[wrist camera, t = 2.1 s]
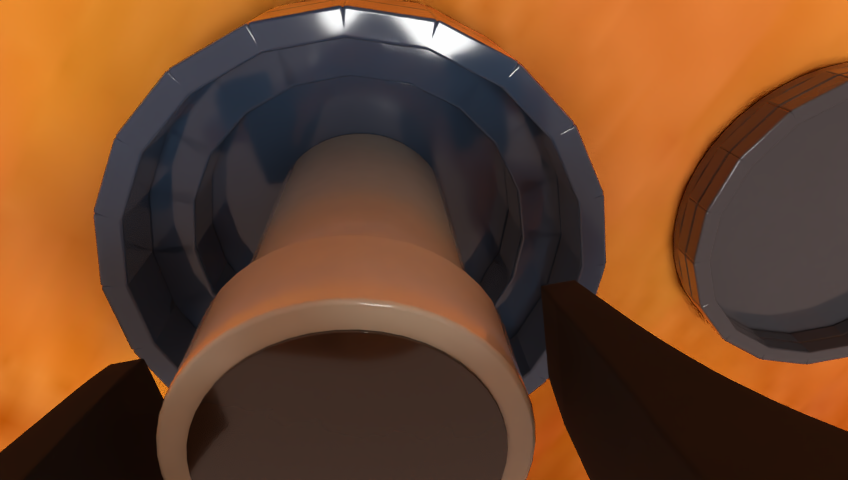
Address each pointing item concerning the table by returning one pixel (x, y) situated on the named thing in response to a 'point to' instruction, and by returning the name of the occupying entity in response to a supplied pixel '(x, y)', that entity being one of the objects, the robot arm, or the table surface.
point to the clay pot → (350, 341)
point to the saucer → (774, 225)
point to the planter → (331, 117)
